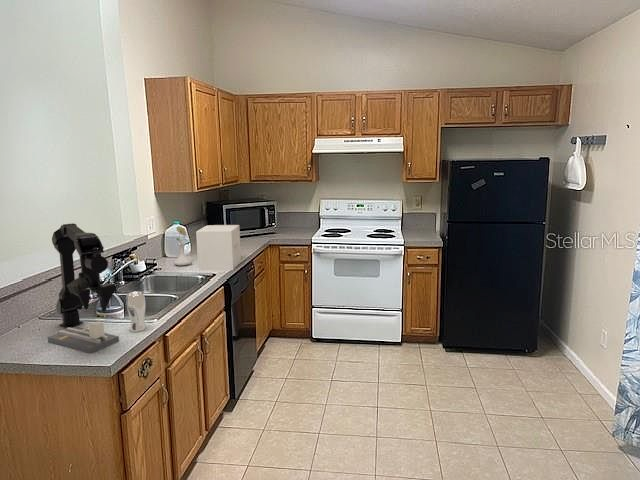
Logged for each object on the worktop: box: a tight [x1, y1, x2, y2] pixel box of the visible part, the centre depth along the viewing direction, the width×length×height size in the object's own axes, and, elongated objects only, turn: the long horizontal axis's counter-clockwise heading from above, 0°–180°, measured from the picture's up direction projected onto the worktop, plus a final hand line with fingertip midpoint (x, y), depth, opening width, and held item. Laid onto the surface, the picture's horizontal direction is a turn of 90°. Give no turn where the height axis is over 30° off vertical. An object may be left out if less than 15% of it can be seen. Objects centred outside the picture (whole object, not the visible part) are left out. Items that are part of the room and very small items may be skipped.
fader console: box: [47, 326, 120, 354], centre depth 173 cm, size 24×12×3 cm, turn 64°
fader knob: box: [88, 320, 106, 339], centre depth 169 cm, size 3×4×6 cm
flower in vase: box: [173, 225, 193, 266], centre depth 292 cm, size 13×11×25 cm
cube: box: [195, 224, 242, 271], centre depth 289 cm, size 25×21×24 cm
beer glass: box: [126, 291, 147, 333], centre depth 184 cm, size 7×7×15 cm
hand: (95, 310), depth 167 cm, fingers open, 9 cm apart
